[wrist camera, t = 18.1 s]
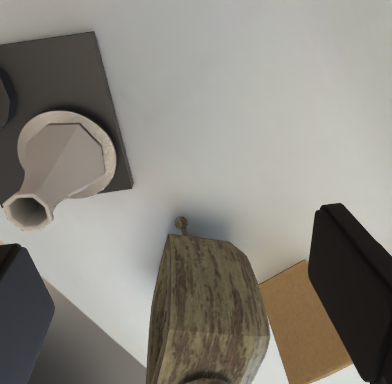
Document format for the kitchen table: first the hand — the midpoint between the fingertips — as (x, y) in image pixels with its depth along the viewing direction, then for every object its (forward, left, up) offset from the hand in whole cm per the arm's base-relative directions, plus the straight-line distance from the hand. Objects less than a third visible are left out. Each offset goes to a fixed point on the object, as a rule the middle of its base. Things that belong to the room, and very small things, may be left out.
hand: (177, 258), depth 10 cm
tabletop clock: (+21, -1, -25) cm, 33 cm away
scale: (+1, -14, -25) cm, 28 cm away
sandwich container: (+34, +15, -25) cm, 45 cm away
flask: (+4, -11, -21) cm, 24 cm away
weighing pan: (+4, -11, -22) cm, 25 cm away
